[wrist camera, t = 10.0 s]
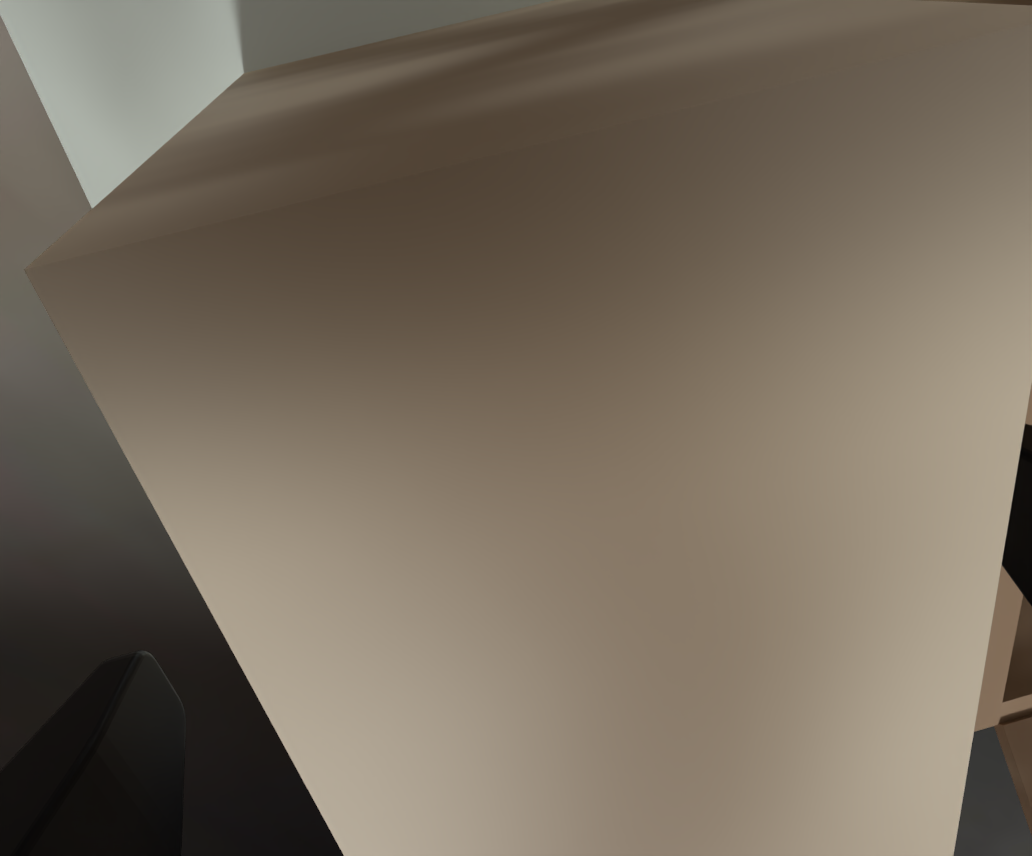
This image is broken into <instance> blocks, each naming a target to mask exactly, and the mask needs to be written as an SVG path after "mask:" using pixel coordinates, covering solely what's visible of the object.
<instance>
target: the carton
mask: <svg viewBox="0 0 1032 856" xmlns="http://www.w3.org/2000/svg"><path fill="white" fill-rule="evenodd" d="M923 1H944V2H966V3H988V4H1009V5H1031V6H1032V0H923ZM1025 424H1029V425H1032V384H1031V390H1030V396H1029V402H1028V408H1027V414H1026V420H1025ZM992 726H994V727H995V730H996V733H997V736H998V739H999V742H1000V745H1001V748H1002V751H1003V753H1004V756H1005V759H1006V762H1007V765H1008V768H1009V771H1010V774H1011V777H1012V780H1013V782H1014V785H1015V788H1016V791H1017V794H1018V797H1019V800H1020V803H1021V806H1022V809H1023V811H1024V814H1025V817H1026V820H1027V823H1028V826H1029V829H1030V832H1031V835H1032V606H1031V605H1030V603H1029V602H1028V601H1027V599H1026V598H1025V597H1024V595H1023V594H1022V592H1021V591H1020V590H1019V588H1018V587H1017V586H1016V584H1015V583H1014V581H1013V580H1012V579H1011V577H1010V576H1009V574H1008V573H1007V572H1006V570H1005V569H1004V567H1003V566H1002V565H1001V571H1000V577H999V583H998V589H997V595H996V601H995V607H994V613H993V619H992V625H991V631H990V637H989V643H988V649H987V655H986V661H985V667H984V673H983V679H982V685H981V691H980V697H979V703H978V710H977V716H976V722H975V728H974V731H978V730H981V729H985V728H988V727H992Z"/></svg>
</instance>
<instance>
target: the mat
mask: <svg viewBox="0 0 1032 856" xmlns="http://www.w3.org/2000/svg"><path fill="white" fill-rule="evenodd" d="M549 1H554V0H0V15H1V17H2V19H3V21H4V23H5V25H6V28H7V30H8V32H9V34H10V36H11V38H12V40H13V42H14V44H15V47H16V49H17V51H18V53H19V55H20V57H21V59H22V61H23V63H24V66H25V68H26V70H27V72H28V74H29V76H30V78H31V80H32V82H33V85H34V87H35V89H36V91H37V93H38V95H39V97H40V99H41V101H42V104H43V106H44V108H45V110H46V112H47V114H48V116H49V118H50V120H51V123H52V125H53V127H54V129H55V131H56V133H57V135H58V137H59V139H60V142H61V144H62V146H63V148H64V150H65V152H66V154H67V156H68V158H69V161H70V163H71V165H72V167H73V169H74V171H75V173H76V175H77V177H78V180H79V182H80V184H81V186H82V188H83V190H84V192H85V194H86V196H87V199H88V201H89V203H90V205H91V207H92V209H93V208H94V207H95V206H96V205H97V204H98V203H99V202H100V201H101V200H103V199H104V198H105V197H106V196H107V195H108V194H109V193H110V192H112V191H113V190H114V189H115V188H116V187H117V186H118V185H119V184H121V183H122V182H123V181H124V180H125V179H126V178H127V177H128V176H129V175H131V174H132V173H133V172H134V171H135V170H136V169H137V168H138V167H140V166H141V165H142V164H143V163H144V162H145V161H146V160H147V159H148V158H150V157H151V156H152V155H153V154H154V153H155V152H156V151H157V150H159V149H160V148H161V147H162V146H163V145H164V144H165V143H166V142H167V141H169V140H170V139H171V138H172V137H173V136H174V135H175V134H176V133H178V132H179V131H180V130H181V129H182V128H183V127H184V126H185V125H187V124H188V123H189V122H190V121H191V120H192V119H193V118H194V117H195V116H197V115H198V114H199V113H200V112H201V111H202V110H203V109H204V108H206V107H207V106H208V105H209V104H210V103H211V102H212V101H213V100H214V99H216V98H217V97H218V96H219V95H220V94H221V93H222V92H223V91H225V90H226V89H227V88H228V87H229V86H230V85H231V84H232V83H234V82H235V81H236V80H237V79H238V78H239V77H240V76H241V75H242V74H244V73H247V72H251V71H256V70H260V69H264V68H268V67H273V66H277V65H281V64H285V63H290V62H294V61H298V60H302V59H307V58H311V57H315V56H319V55H324V54H328V53H332V52H336V51H341V50H345V49H349V48H354V47H358V46H362V45H366V44H371V43H375V42H379V41H383V40H388V39H392V38H396V37H400V36H405V35H409V34H413V33H417V32H422V31H426V30H430V29H434V28H439V27H443V26H447V25H451V24H456V23H460V22H464V21H468V20H473V19H477V18H481V17H485V16H490V15H494V14H498V13H502V12H507V11H511V10H515V9H520V8H524V7H528V6H532V5H537V4H541V3H545V2H549Z"/></svg>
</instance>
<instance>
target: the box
mask: <svg viewBox="0 0 1032 856" xmlns="http://www.w3.org/2000/svg"><path fill="white" fill-rule="evenodd" d="M24 271H25V272H26V274H27V276H28V278H29V280H30V282H31V283H32V285H33V287H34V289H35V291H36V293H37V294H38V296H39V298H40V300H41V302H42V304H43V305H44V307H45V309H46V311H47V313H48V315H49V316H50V318H51V320H52V322H53V324H54V326H55V327H56V329H57V331H58V333H59V335H60V337H61V338H62V340H63V342H64V344H65V346H66V348H67V349H68V351H69V353H70V355H71V357H72V359H73V360H74V362H75V364H76V366H77V368H78V370H79V371H80V373H81V375H82V377H83V379H84V380H85V382H86V384H87V386H88V388H89V390H90V391H91V393H92V395H93V397H94V399H95V401H96V402H97V404H98V406H99V408H100V410H101V412H102V413H103V415H104V417H105V419H106V421H107V423H108V424H109V426H110V428H111V430H112V432H113V434H114V435H115V437H116V439H117V441H118V443H119V445H120V446H121V448H122V450H123V452H124V454H125V456H126V457H127V459H128V461H129V463H130V465H131V467H132V468H133V470H134V472H135V474H136V476H137V478H138V479H139V481H140V483H141V485H142V487H143V489H144V490H145V492H146V494H147V496H148V498H149V500H150V501H151V503H152V505H153V507H154V509H155V511H156V512H157V514H158V516H159V518H160V520H161V522H162V523H163V525H164V527H165V529H166V531H167V533H168V534H169V536H170V538H171V540H172V542H173V543H174V545H175V547H176V549H177V551H178V553H179V554H180V556H181V558H182V560H183V562H184V564H185V565H186V567H187V569H188V571H189V573H190V575H191V576H192V578H193V580H194V582H195V584H196V586H197V587H198V589H199V591H200V593H201V595H202V597H203V598H204V600H205V602H206V604H207V606H208V608H209V609H210V611H211V613H212V615H213V617H214V619H215V620H216V622H217V624H218V626H219V628H220V630H221V631H222V633H223V635H224V637H225V639H226V641H227V642H228V644H229V646H230V648H231V650H232V652H233V653H234V655H235V657H236V659H237V661H238V663H239V664H240V666H241V668H242V670H243V672H244V674H245V675H246V677H247V679H248V681H249V683H250V685H251V686H252V688H253V690H254V692H255V694H256V695H257V697H258V699H259V701H260V703H261V705H262V706H263V708H264V710H265V712H266V714H267V716H268V717H269V719H270V721H271V723H272V725H273V727H274V728H275V730H276V732H277V734H278V736H279V738H280V739H281V741H282V743H283V745H284V747H285V749H286V750H287V752H288V754H289V756H290V758H291V760H292V761H293V763H294V765H295V767H296V769H297V771H298V772H299V774H300V776H301V778H302V780H303V782H304V783H305V785H306V787H307V789H308V791H309V793H310V794H311V796H312V798H313V800H314V802H315V804H316V805H317V807H318V809H319V811H320V813H321V815H322V816H323V818H324V820H325V822H326V824H327V826H328V827H329V829H330V831H331V833H332V835H333V837H334V838H335V840H336V842H337V844H338V846H339V848H340V849H341V851H342V853H343V855H344V856H953V854H954V848H955V842H956V836H957V830H958V824H959V818H960V812H961V806H962V800H963V794H964V788H965V782H966V776H967V770H968V764H969V758H970V752H971V746H972V740H973V734H974V728H975V722H976V716H977V710H978V703H979V697H980V691H981V685H982V679H983V673H984V667H985V661H986V655H987V649H988V643H989V637H990V631H991V625H992V619H993V613H994V607H995V601H996V595H997V589H998V583H999V577H1000V571H1001V565H1002V559H1003V553H1004V547H1005V541H1006V534H1007V528H1008V522H1009V516H1010V510H1011V504H1012V498H1013V492H1014V486H1015V480H1016V474H1017V468H1018V462H1019V456H1020V450H1021V444H1022V438H1023V432H1024V426H1025V420H1026V414H1027V408H1028V402H1029V396H1030V390H1031V384H1032V6H1031V5H1009V4H988V3H966V2H944V1H923V0H554V1H549V2H545V3H541V4H537V5H532V6H528V7H524V8H520V9H515V10H511V11H507V12H502V13H498V14H494V15H490V16H485V17H481V18H477V19H473V20H468V21H464V22H460V23H456V24H451V25H447V26H443V27H439V28H434V29H430V30H426V31H422V32H417V33H413V34H409V35H405V36H400V37H396V38H392V39H388V40H383V41H379V42H375V43H371V44H366V45H362V46H358V47H354V48H349V49H345V50H341V51H336V52H332V53H328V54H324V55H319V56H315V57H311V58H307V59H302V60H298V61H294V62H290V63H285V64H281V65H277V66H273V67H268V68H264V69H260V70H256V71H251V72H247V73H244V74H242V75H241V76H240V77H239V78H238V79H237V80H236V81H235V82H234V83H232V84H231V85H230V86H229V87H228V88H227V89H226V90H225V91H223V92H222V93H221V94H220V95H219V96H218V97H217V98H216V99H214V100H213V101H212V102H211V103H210V104H209V105H208V106H207V107H206V108H204V109H203V110H202V111H201V112H200V113H199V114H198V115H197V116H195V117H194V118H193V119H192V120H191V121H190V122H189V123H188V124H187V125H185V126H184V127H183V128H182V129H181V130H180V131H179V132H178V133H176V134H175V135H174V136H173V137H172V138H171V139H170V140H169V141H167V142H166V143H165V144H164V145H163V146H162V147H161V148H160V149H159V150H157V151H156V152H155V153H154V154H153V155H152V156H151V157H150V158H148V159H147V160H146V161H145V162H144V163H143V164H142V165H141V166H140V167H138V168H137V169H136V170H135V171H134V172H133V173H132V174H131V175H129V176H128V177H127V178H126V179H125V180H124V181H123V182H122V183H121V184H119V185H118V186H117V187H116V188H115V189H114V190H113V191H112V192H110V193H109V194H108V195H107V196H106V197H105V198H104V199H103V200H101V201H100V202H99V203H98V204H97V205H96V206H95V207H94V208H93V209H91V210H90V211H89V212H88V213H87V214H86V215H85V216H84V217H82V218H81V219H80V220H79V221H78V222H77V223H76V224H75V225H74V226H72V227H71V228H70V229H69V230H68V231H67V232H66V233H65V234H63V235H62V236H61V237H60V238H59V239H58V240H57V241H56V242H54V243H53V244H52V245H51V246H50V247H49V248H48V249H47V250H46V251H44V252H43V253H42V254H41V255H40V256H39V257H38V258H37V259H35V260H34V261H33V262H32V263H31V264H30V265H29V266H28V267H27V268H25V269H24Z"/></svg>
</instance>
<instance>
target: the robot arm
mask: <svg viewBox="0 0 1032 856" xmlns="http://www.w3.org/2000/svg"><path fill="white" fill-rule="evenodd" d="M1002 566H1003V567H1004V569H1005V570H1006V572H1007V573H1008V574H1009V576H1010V577H1011V579H1012V580H1013V581H1014V583H1015V584H1016V586H1017V587H1018V588H1019V590H1020V591H1021V592H1022V594H1023V595H1024V597H1025V598H1026V599H1027V601H1028V602H1029V603H1030V605H1031V606H1032V425H1029V424H1025V426H1024V432H1023V438H1022V444H1021V450H1020V456H1019V462H1018V468H1017V474H1016V480H1015V486H1014V492H1013V498H1012V504H1011V510H1010V516H1009V522H1008V528H1007V534H1006V541H1005V547H1004V553H1003V559H1002ZM185 730H186V719H185V712H184V708H183V705H182V702H181V700H180V698H179V696H178V695H177V693H176V691H175V690H174V688H173V687H172V685H171V683H170V682H169V680H168V679H167V677H166V675H165V674H164V672H163V670H162V669H161V667H160V666H159V664H158V662H157V661H156V659H155V658H154V657H153V655H152V654H150V653H149V652H147V651H142V650H140V651H135V652H132V653H128V654H124V655H120V656H117V657H113V658H110V659H108V660H106V661H104V662H103V663H102V664H100V665H99V666H98V667H97V669H96V670H95V671H94V672H93V673H92V674H91V675H90V676H89V677H88V678H87V679H86V680H85V681H84V682H83V683H82V684H81V686H80V687H79V688H78V689H77V690H76V691H75V692H74V693H73V694H72V695H71V696H70V697H69V698H68V699H67V700H66V702H65V703H64V704H63V705H62V706H61V707H60V708H59V709H58V710H57V711H56V712H55V713H54V714H53V715H52V716H51V718H50V719H49V720H48V721H47V722H46V723H45V724H44V725H43V726H42V727H41V728H40V729H39V730H38V731H37V732H36V734H35V735H34V736H33V737H32V738H31V739H30V740H29V741H28V742H27V743H26V744H25V745H24V746H23V747H22V748H21V750H20V751H19V752H18V753H17V754H16V755H15V756H14V757H13V758H12V759H11V760H10V761H9V762H8V763H7V764H6V766H5V767H4V768H3V769H2V770H1V771H0V856H181V845H182V819H183V790H184V760H185Z"/></svg>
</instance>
